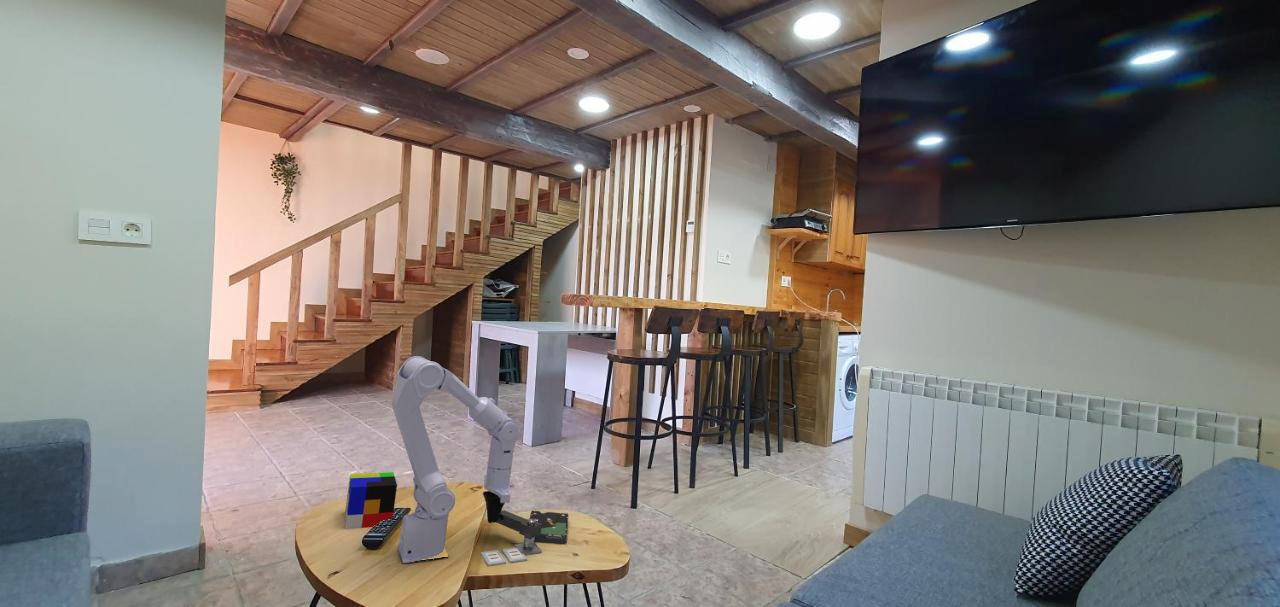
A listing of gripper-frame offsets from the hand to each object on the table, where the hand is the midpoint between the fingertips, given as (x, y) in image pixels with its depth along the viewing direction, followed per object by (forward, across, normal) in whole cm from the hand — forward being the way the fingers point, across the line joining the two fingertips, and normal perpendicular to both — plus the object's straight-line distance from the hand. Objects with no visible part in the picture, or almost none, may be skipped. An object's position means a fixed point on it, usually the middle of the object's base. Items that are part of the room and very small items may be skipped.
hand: (492, 522), depth 128 cm
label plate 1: (+4, -9, +2) cm, 10 cm away
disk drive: (+5, +2, -16) cm, 16 cm away
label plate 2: (+4, -9, -3) cm, 11 cm away
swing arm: (+1, -3, -5) cm, 6 cm away
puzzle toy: (+5, +20, +25) cm, 32 cm away
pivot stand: (+4, -7, -7) cm, 11 cm away
